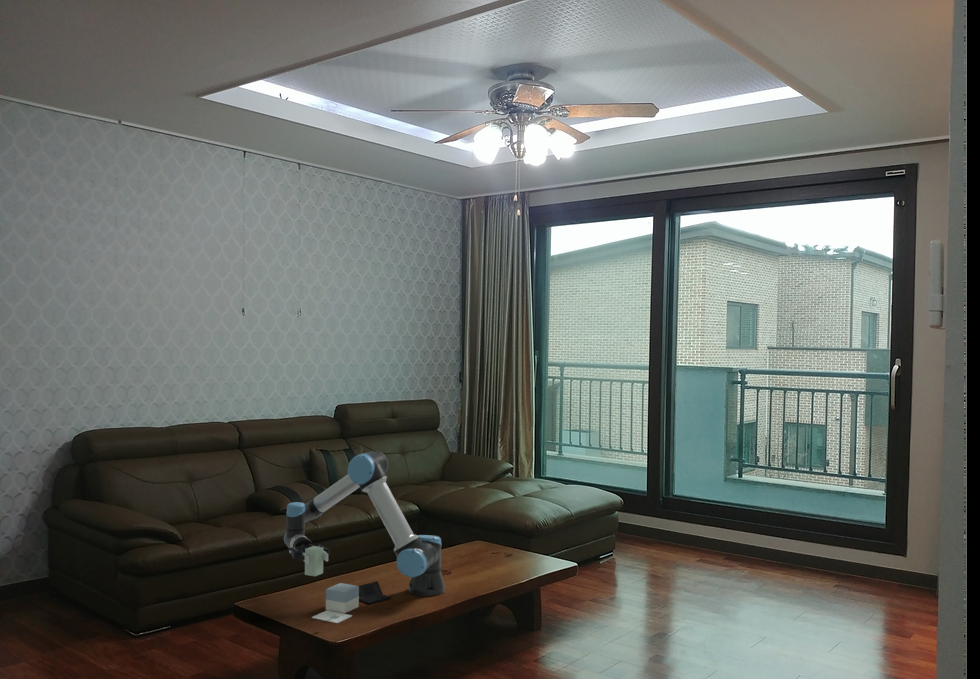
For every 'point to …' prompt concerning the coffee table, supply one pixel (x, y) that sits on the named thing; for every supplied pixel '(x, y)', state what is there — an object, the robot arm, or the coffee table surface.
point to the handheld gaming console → (371, 593)
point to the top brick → (314, 561)
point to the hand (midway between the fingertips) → (317, 559)
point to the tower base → (342, 605)
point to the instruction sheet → (332, 616)
